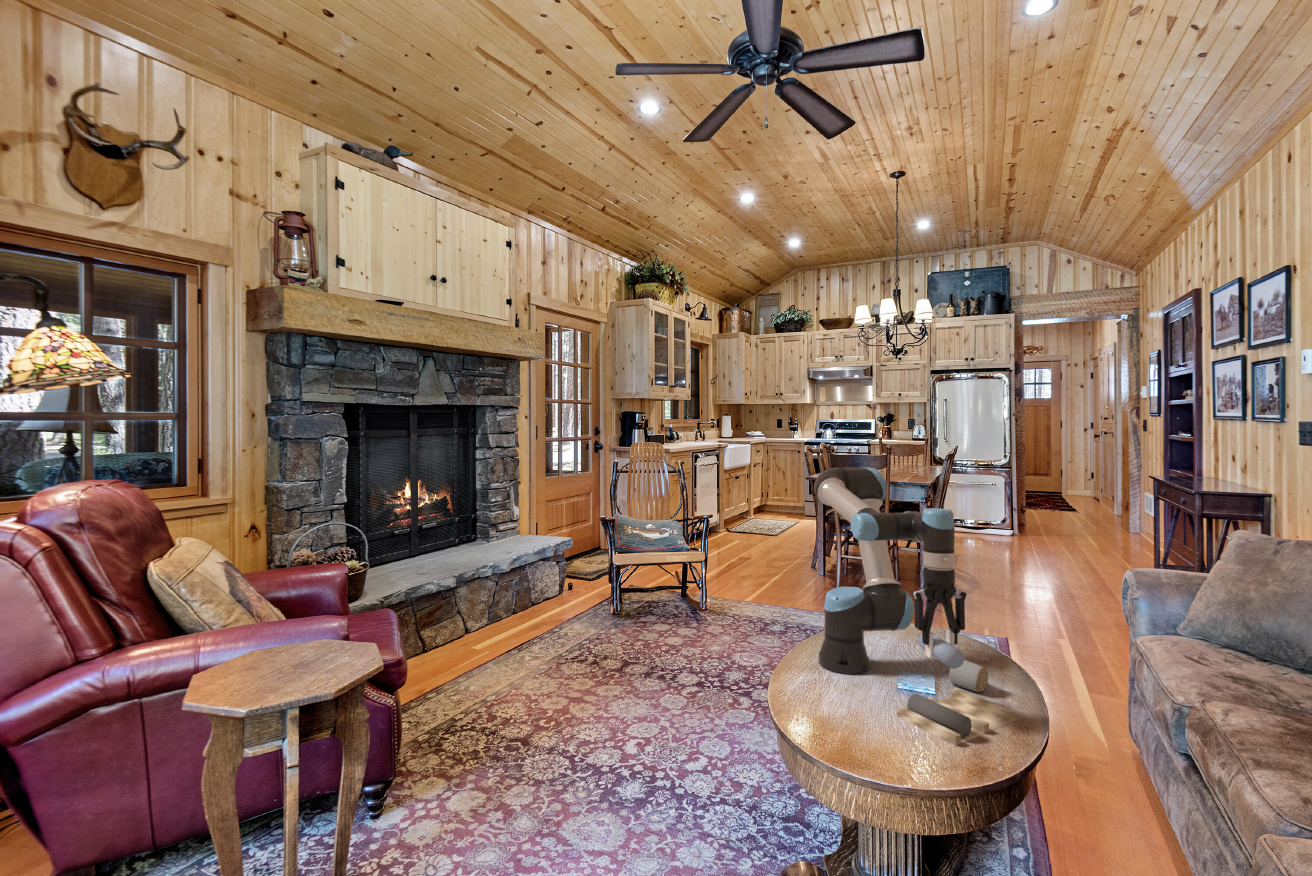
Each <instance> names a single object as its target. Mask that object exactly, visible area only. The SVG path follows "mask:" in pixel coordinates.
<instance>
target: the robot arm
mask: <svg viewBox="0 0 1312 876" xmlns="http://www.w3.org/2000/svg"><path fill="white" fill-rule="evenodd" d="M887 489H888V488H887V483H886V479H885V477H884V475H883V474H882V473H881V471H879V470H878V469H877V468H874V467H866V466H863V467H862V466H861V467H830V468H828V469H826V470H823V471H822V472H821V473H819V475H818V476H817V477H816V478H815V481H814V483H813V492H814V495H815V496H816V498H817V499H818V500H819V502H821V503H822V504H824V505H825V506H829V507H831V508H833V510H835V511H836V512H837V513H838V514H839V515H840V516H842V518H844V519H845V520H846V521H847V522H848V523H849V524H850V531H851V533H852V536H853V537H854V539H855V540H857V541H858V546H859V547H858V548H859V551H860V556H861V562H862V567H863V572H864V576H865V581H866V582H865V584H864V585H863V587H862V588H861V587H857V586H839V587H834V588H831V589H830V590H828V591H827V592H826V593H825V596H824V597H825V598H824V605H823V608H824V638H823V642H822V644H821V648H820V651H819V653H818V663H819V665H820V666H821V667H822V668H824V669H826V670H828V671H831V672H834V673H839V674H844V675H845V674H846V675H858V674H863V673H866V672H868V671H869V670H870V668H871V667H870V663H871V662H870V658H869V656H868V653H867V649H866V646H865V642H864V641H865V640H864V638H865V637H864V636H865V635H864V634H865V632H879V631H880V632H881V631H892V632H894V631H902V630H905V629H908V627H910V625H911V623H912V621H913V618H914V628H916V629H917V630H919V631H921V634H922V642H923V643H924V644H925V647H926V651H925V657H928V658H929V659H931V660H934V656H933V634H934V633H933V632H932V631H931V629H932V624H933V620H934V616H935V614H936V613H935V611H936V609H937V608H938V605H939V604H940V605H942V607H943V610H944V614H945V617H946V621H947V625H948V629H946V632H945V635H946V637H945V638H946V640H945V641H946V642H947V643H949V644H951V645H952V646H954V647H956V646H955V645H958V634H960V633H961V631H965V629H966V612H965V611H966V608H965V607H966V606H965V605H966V604H965V601H966V598H967V596H968V595H967V593H966V592H965V591H963V590H960V589H957V588H956V586H955V583H956V570H954V568H955V567H956V565H955V563H956V561H955V526H956V523H955V518H954V517H955V516H954V515H955V514H954V511H952V510H951V509H949V508H936V507H929V508H924V509H923V510H922V512H919V511H915V510H914V511H911V510H908V511H907V510H906V511H904V512H881V511H880V508H881V506H882V505H883V501H884V500H885V498H886V496H887ZM911 540H912V541H913V540H914V541H916V540H917V541H921V542H922V548H923V549H922V559H923V560H922V564H923V566H924V567H923V569H922V571H923V586H922V588H921V589H920V590H913V591H912V592H911V594H912V596H911V595H910V593H909V592H908V591H906V590H903V588H902V584H901V583H900V582H899V581H897V580H896V579H895V576H894V571H893V565H892V562H891V558H890V553H889V548H888V543H887V541H911ZM924 596H925V597H926V602H925V603H926V604H925V605H926V606H925V611H924V598H925V597H924ZM912 597H913V598H912ZM953 598H954V602H955V603H954V606H953V601H952V599H953ZM913 600H914V601H913ZM953 607H955V609H954V608H953ZM954 611H955V613H954Z"/></svg>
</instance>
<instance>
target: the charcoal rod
mask: <svg viewBox="0 0 1312 876" xmlns="http://www.w3.org/2000/svg"><path fill="white" fill-rule="evenodd" d="M927 698H928V697H925V696H923V695H920V694H919V693H912V694H911V695H910V696H909V698H908V699H907V702H906V704H907V705H906V707H907V709H909V710H911V711H913V712H915V713H917V714H919V715H921V716H923V717H925V718H927V719H929V720H931V721H933V722H935V723H938V724H940V725H942V726H944V727H946V728H948V729H950V730H952V731H954V732H956V733H958V734H960V735H961V738H966V737H967V736H968V735H969V733H970V731H971V720H970V718H969V717H967V716H965V715H962V714H960V713H958V712H956V711H954V710H951V709H949V708H947V707H945V706H943V705H940V704H938V703H936V702H934V701H932V700H929V699H927Z"/></svg>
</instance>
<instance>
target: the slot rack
mask: <svg viewBox="0 0 1312 876" xmlns="http://www.w3.org/2000/svg"><path fill="white" fill-rule="evenodd" d="M926 698H927V699H929V700H932V701H934V702H936V703H938V704H940V705H943V706H945V707H947V708H949V709H951V710H954V711H956V712H958V713H960V714H962V715H965V716H967V717H969V718H970V720H971V731H970V733H969V735H968V736H967V737H966V738H961V735H960V734H958V733H956V732H954V731H952V730H950V729H948V728H946V727H944V726H942V725H940V724H938V723H935V722H933V721H931V720H929V719H927V718H925V717H923V716H921V715H919V714H917V713H915V712H913V711H911V710H909V709H908V708H906V707H904V706H902V705H901V706H899V707H897V708H896V717H897V718H900V719H902V720H904V721H906V722H907V723H910V724H912V725H914V726H915V727H917V728H919V729H922V730H924V731H925V732H928V734H931V735H933V736H935V737H937V738H939V739H940V740H942V741H945V742H947V743H948V744H950V745H952V746H954V747H957V746H958V745H962V744H963V743H965V742H968V741H970V740H973V739H974V738H977V737H978V738H979V737H980V736H982V735H985V734H987V733H990V732H991V731H994V730H997V729H999V728H1001V727H1003V726H1006V725H1009V724H1011V723H1013V722H1015V721H1016V711H1013V710H1010V709H1008V708H1005V707H1003V706H1001V705H998V704H996V703H993V702H992V701H989V700H987V699H984V698H981V697H979V696H977V695H975V694H972V693H969V692H967V691H965V690H963V689H960V688H958V687H955V688H952V689H951V696H950V697H948V698H947V697H946V698H944V699H941V700H938V699H937V698H934V697H932V696H929V697H926Z"/></svg>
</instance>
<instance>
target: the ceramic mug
mask: <svg viewBox="0 0 1312 876" xmlns="http://www.w3.org/2000/svg"><path fill="white" fill-rule="evenodd" d="M948 678H949V682H950V683H951V684H952V685H954V686H957V687H960V688H962V689H963V688H964V689H967V690H970V691H972V692H974V693H975V692H976V693H982V692H984V691H985V689H986V688H987V686H988V682H989V673H988V670H987V669H986V668H985V667H983V666H982V665H980V664H977V663H975V662H972V661H969V660H966V659H964V662H963V664H962V665H961V666H960V667H959V668H955V669H954V668H950V667H949V677H948Z"/></svg>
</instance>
